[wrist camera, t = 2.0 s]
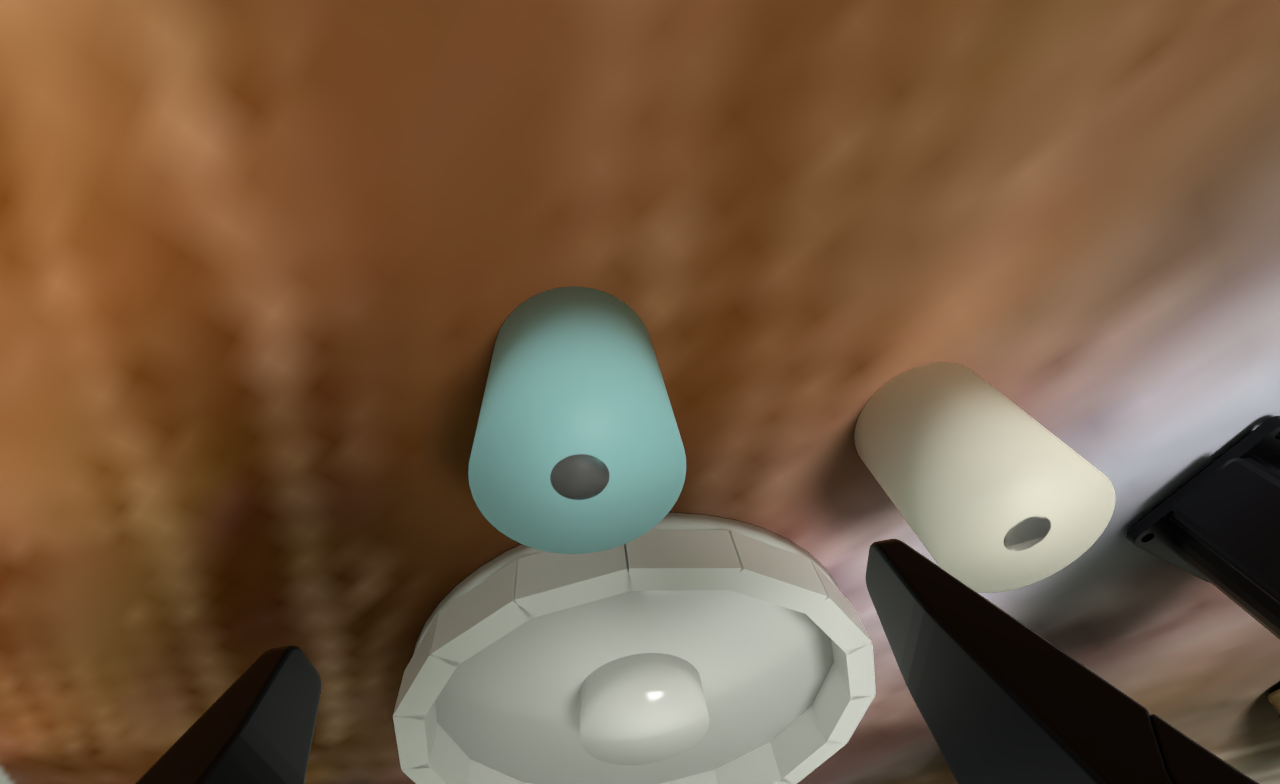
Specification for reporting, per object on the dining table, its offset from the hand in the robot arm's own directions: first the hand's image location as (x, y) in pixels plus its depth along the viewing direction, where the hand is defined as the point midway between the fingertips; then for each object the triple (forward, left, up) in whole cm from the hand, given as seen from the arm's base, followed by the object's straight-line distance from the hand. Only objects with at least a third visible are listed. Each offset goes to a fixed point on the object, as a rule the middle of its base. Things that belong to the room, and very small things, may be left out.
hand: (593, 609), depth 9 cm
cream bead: (-11, -3, -8) cm, 14 cm away
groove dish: (-9, +12, -8) cm, 17 cm away
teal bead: (0, 0, -8) cm, 8 cm away
